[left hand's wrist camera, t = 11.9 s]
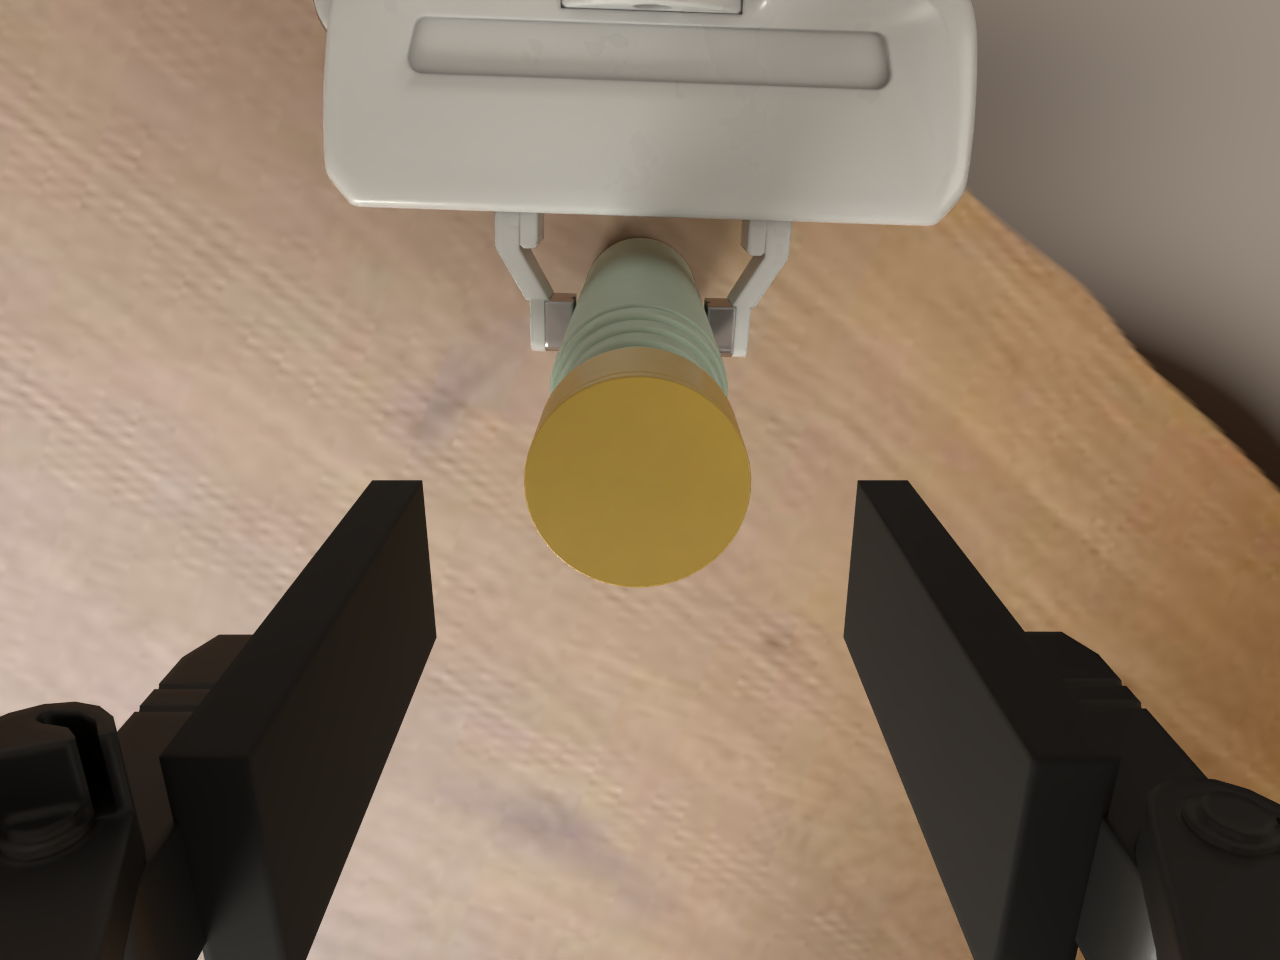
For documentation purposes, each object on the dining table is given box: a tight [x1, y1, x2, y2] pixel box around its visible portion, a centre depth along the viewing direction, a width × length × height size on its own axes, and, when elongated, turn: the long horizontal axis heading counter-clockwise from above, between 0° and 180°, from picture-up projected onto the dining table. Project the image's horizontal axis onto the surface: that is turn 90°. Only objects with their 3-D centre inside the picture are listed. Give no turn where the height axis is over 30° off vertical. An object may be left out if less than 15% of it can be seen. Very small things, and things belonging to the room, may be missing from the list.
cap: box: [524, 347, 751, 587], centre depth 18 cm, size 4×4×2 cm
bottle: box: [550, 238, 728, 397], centre depth 28 cm, size 5×5×22 cm
